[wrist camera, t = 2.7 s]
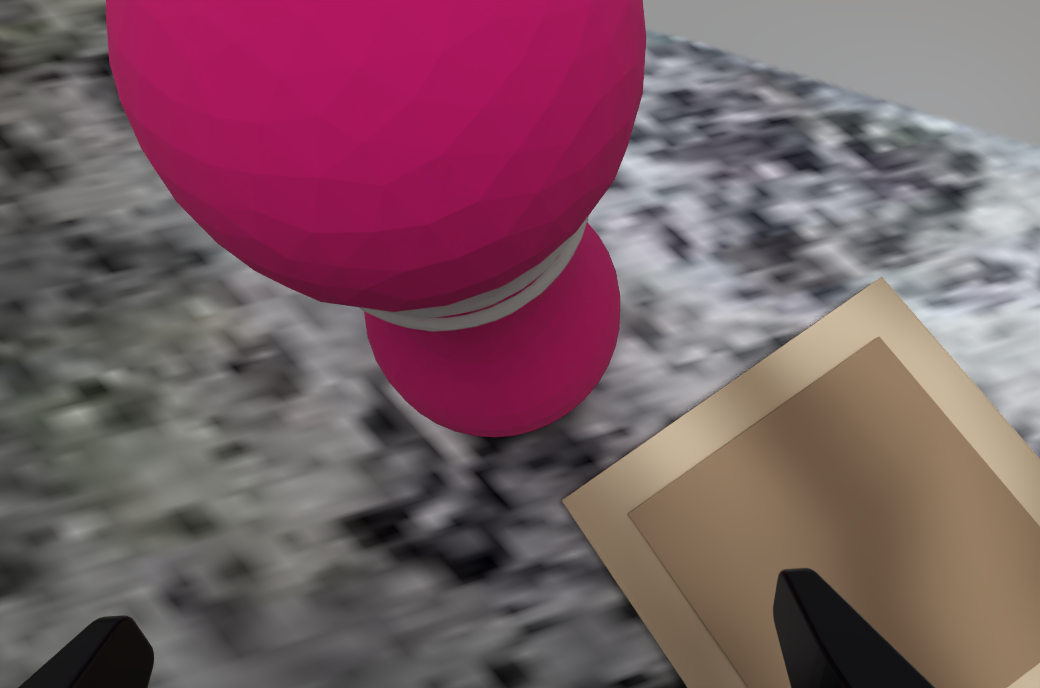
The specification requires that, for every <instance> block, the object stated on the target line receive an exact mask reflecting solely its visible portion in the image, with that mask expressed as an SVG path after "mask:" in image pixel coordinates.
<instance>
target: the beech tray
mask: <svg viewBox="0 0 1040 688" xmlns="http://www.w3.org/2000/svg"><path fill="white" fill-rule="evenodd" d="M562 502H563V503H564V505H565V506H566V508H567V509H568V511H569V512H570V514H571V515H572V517H573V518H574V520H575V521H576V523H577V524H578V526H579V527H580V529H581V530H582V532H583V533H584V534H585V536H586V537H587V539H588V540H589V542H590V543H591V545H592V546H593V548H594V549H595V551H596V552H597V554H598V555H599V557H600V558H601V560H602V561H603V563H604V564H605V566H606V567H607V569H608V570H609V572H610V573H611V575H612V576H613V578H614V579H615V581H616V582H617V584H618V585H619V587H620V588H621V590H622V591H623V592H624V594H625V595H626V597H627V598H628V600H629V601H630V603H631V604H632V606H633V607H634V609H635V610H636V612H637V613H638V615H639V616H640V618H641V619H642V621H643V622H644V624H645V625H646V627H647V628H648V630H649V631H650V633H651V634H652V636H653V637H654V639H655V640H656V642H657V643H658V645H659V646H660V647H661V649H662V650H663V652H664V653H665V655H666V656H667V658H668V659H669V661H670V662H671V664H672V665H673V667H674V668H675V670H676V671H677V673H678V674H679V676H680V677H681V679H682V680H683V682H684V683H685V685H686V686H687V688H791V685H790V681H789V678H788V674H787V670H786V666H785V662H784V658H783V655H782V651H781V647H780V643H779V639H778V635H777V632H776V628H775V624H774V618H773V603H774V597H775V591H776V585H777V579H778V575H779V573H780V571H781V570H783V569H793V568H810V569H812V570H814V571H816V572H817V573H818V574H819V575H820V576H821V577H822V578H823V579H824V580H825V581H826V582H827V583H828V584H829V585H830V586H831V587H832V588H833V589H834V590H835V591H836V592H837V593H838V594H840V595H841V596H842V597H843V598H844V599H845V600H846V601H847V602H848V603H849V604H850V605H851V606H852V607H853V608H854V609H855V610H856V611H857V612H858V613H859V614H860V615H861V616H862V617H863V618H864V619H865V620H866V621H867V622H868V623H869V624H870V625H871V626H872V627H873V628H874V629H876V630H877V631H878V632H879V633H880V634H881V635H882V636H883V637H884V638H885V639H886V640H887V641H888V642H889V643H890V644H891V645H892V646H893V647H894V648H895V649H896V650H897V651H898V652H899V653H900V654H901V655H902V656H903V657H904V658H905V659H906V660H907V661H908V662H909V663H910V664H912V665H913V666H914V667H915V668H916V669H917V670H918V671H919V672H920V673H921V674H922V675H923V676H924V677H925V678H926V679H927V680H928V681H929V682H930V683H931V684H932V685H933V686H934V687H935V688H1040V459H1039V457H1038V456H1037V455H1036V454H1035V453H1034V452H1033V451H1032V449H1031V448H1030V447H1029V446H1028V445H1027V444H1026V442H1025V441H1024V440H1023V439H1022V438H1021V437H1020V436H1019V434H1018V433H1017V432H1016V431H1015V430H1014V429H1013V427H1012V426H1011V425H1010V424H1009V423H1008V422H1007V421H1006V419H1005V418H1004V417H1003V416H1002V415H1001V414H1000V412H999V411H998V410H997V409H996V408H995V407H994V405H993V404H992V403H991V402H990V401H989V400H988V399H987V397H986V396H985V395H984V394H983V393H982V392H981V390H980V389H979V388H978V387H977V386H976V385H975V384H974V382H973V381H972V380H971V379H970V378H969V377H968V375H967V374H966V373H965V372H964V371H963V370H962V369H961V367H960V366H959V365H958V364H957V363H956V362H955V360H954V359H953V358H952V357H951V356H950V355H949V354H948V352H947V351H946V350H945V349H944V348H943V347H942V345H941V344H940V343H939V342H938V341H937V340H936V339H935V337H934V336H933V335H932V334H931V333H930V332H929V330H928V329H927V328H926V327H925V326H924V325H923V324H922V322H921V321H920V320H919V319H918V318H917V317H916V315H915V314H914V313H913V312H912V311H911V310H910V309H909V307H908V306H907V305H906V304H905V303H904V302H903V300H902V299H901V298H900V297H899V296H898V295H897V294H896V292H895V291H894V290H893V289H892V288H891V287H890V285H889V284H888V283H887V282H886V281H885V280H884V279H883V277H881V278H879V279H878V280H876V281H875V282H873V283H872V284H870V285H869V286H868V287H866V288H865V289H863V290H862V291H860V292H859V293H858V294H856V295H855V296H853V297H852V298H850V299H849V300H848V301H846V302H845V303H843V304H842V305H840V306H839V307H838V308H836V309H835V310H833V311H832V312H830V313H829V314H828V315H826V316H825V317H823V318H822V319H820V320H819V321H818V322H816V323H815V324H813V325H812V326H810V327H809V328H808V329H806V330H805V331H803V332H802V333H800V334H799V335H798V336H796V337H795V338H793V339H792V340H790V341H789V342H787V343H786V344H785V345H783V346H782V347H780V348H779V349H777V350H776V351H775V352H773V353H772V354H770V355H769V356H767V357H766V358H765V359H763V360H762V361H760V362H759V363H757V364H756V365H755V366H753V367H752V368H750V369H749V370H747V371H746V372H745V373H743V374H742V375H740V376H739V377H737V378H736V379H735V380H733V381H732V382H730V383H729V384H727V385H726V386H725V387H723V388H722V389H720V390H719V391H717V392H716V393H715V394H713V395H712V396H710V397H709V398H707V399H706V400H705V401H703V402H702V403H700V404H699V405H697V406H696V407H694V408H693V409H692V410H690V411H689V412H687V413H686V414H684V415H683V416H682V417H680V418H679V419H677V420H676V421H674V422H673V423H672V424H670V425H669V426H667V427H666V428H664V429H663V430H662V431H660V432H659V433H657V434H656V435H654V436H653V437H652V438H650V439H649V440H647V441H646V442H644V443H643V444H642V445H640V446H639V447H637V448H636V449H634V450H633V451H632V452H630V453H629V454H627V455H626V456H624V457H623V458H622V459H620V460H619V461H617V462H616V463H614V464H613V465H612V466H610V467H609V468H607V469H606V470H604V471H603V472H602V473H600V474H599V475H597V476H596V477H594V478H593V479H591V480H590V481H589V482H587V483H586V484H584V485H583V486H581V487H580V488H579V489H577V490H576V491H574V492H573V493H571V494H570V495H569V496H567V497H566V498H564V499H563V500H562Z"/></svg>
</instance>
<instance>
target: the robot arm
mask: <svg viewBox="0 0 1040 688" xmlns="http://www.w3.org/2000/svg"><path fill="white" fill-rule="evenodd" d="M773 618H774V624H775V628H776V632H777V635H778V639H779V643H780V647H781V651H782V655H783V658H784V662H785V666H786V670H787V674H788V678H789V681H790V685H791V688H935V687H934V686H933V685H932V684H931V683H930V682H929V681H928V680H927V679H926V678H925V677H924V676H923V675H922V674H921V673H920V672H919V671H918V670H917V669H916V668H915V667H914V666H913V665H912V664H910V663H909V662H908V661H907V660H906V659H905V658H904V657H903V656H902V655H901V654H900V653H899V652H898V651H897V650H896V649H895V648H894V647H893V646H892V645H891V644H890V643H889V642H888V641H887V640H886V639H885V638H884V637H883V636H882V635H881V634H880V633H879V632H878V631H877V630H876V629H874V628H873V627H872V626H871V625H870V624H869V623H868V622H867V621H866V620H865V619H864V618H863V617H862V616H861V615H860V614H859V613H858V612H857V611H856V610H855V609H854V608H853V607H852V606H851V605H850V604H849V603H848V602H847V601H846V600H845V599H844V598H843V597H842V596H841V595H840V594H838V593H837V592H836V591H835V590H834V589H833V588H832V587H831V586H830V585H829V584H828V583H827V582H826V581H825V580H824V579H823V578H822V577H821V576H820V575H819V574H818V573H817V572H816V571H814V570H812V569H810V568H793V569H783V570H781V571H780V573H779V575H778V579H777V585H776V591H775V597H774V603H773ZM153 664H154V652H153V648H152V646H151V645H150V643H149V642H148V640H147V639H146V637H145V636H144V634H143V633H142V631H141V630H140V629H139V627H138V626H137V624H136V623H135V621H134V620H133V619H132V618H131V617H129V616H109V617H102V618H99V619H97V620H95V621H93V622H92V623H91V624H90V625H88V626H87V627H86V628H85V629H84V630H83V631H82V632H81V633H79V634H78V635H77V636H76V637H75V638H74V639H73V640H71V641H70V642H69V643H68V644H67V645H66V646H65V647H64V648H62V649H61V650H60V651H59V652H58V653H57V654H56V655H55V656H53V657H52V658H51V659H50V660H49V661H48V662H47V663H46V664H44V665H43V666H42V667H41V668H40V669H39V670H38V671H37V672H35V673H34V674H33V675H32V676H31V677H30V678H29V679H28V680H26V681H25V682H24V683H23V684H22V685H21V686H20V687H18V688H148V684H149V680H150V677H151V673H152V669H153Z"/></svg>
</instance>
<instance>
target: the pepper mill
mask: <svg viewBox="0 0 1040 688" xmlns="http://www.w3.org/2000/svg"><path fill="white" fill-rule="evenodd" d="M106 22H107V35H108V49H109V62H110V66H111V69H112V73H113V76H114V80H115V83H116V87H117V90H118V94H119V97H120V101H121V103H122V106H123V108H124V110H125V113H126V115H127V117H128V119H129V122H130V124H131V126H132V128H133V131H134V133H135V135H136V137H137V140H138V142H139V144H140V147H141V149H142V150H143V152H144V153H145V155H146V156H147V158H148V159H149V161H150V163H151V164H152V166H153V167H154V169H155V170H156V172H157V173H158V175H159V176H160V178H161V179H162V181H163V182H164V184H165V185H166V187H167V188H168V190H169V191H170V193H171V194H172V196H173V197H174V199H175V200H176V202H177V203H178V204H179V205H180V206H181V207H182V208H183V209H184V210H185V211H186V212H187V213H188V214H189V215H190V216H191V217H192V218H193V219H194V220H195V221H196V222H197V223H198V224H199V225H200V226H201V227H202V228H203V229H204V230H205V231H206V232H207V233H208V234H209V235H210V236H211V237H212V238H213V239H214V240H215V241H216V242H217V243H218V244H219V245H220V246H222V247H223V248H225V249H226V250H227V251H229V252H230V253H231V254H233V255H234V256H235V257H237V258H238V259H239V260H241V261H242V262H244V263H245V264H246V265H248V266H249V267H250V268H252V269H253V270H254V271H256V272H258V273H260V274H262V275H264V276H266V277H268V278H270V279H272V280H274V281H276V282H278V283H280V284H282V285H284V286H286V287H288V288H290V289H293V290H295V291H297V292H300V293H302V294H304V295H306V296H309V297H311V298H313V299H316V300H318V301H320V302H326V303H333V304H340V305H347V306H354V307H359V308H360V309H362V310H363V311H364V314H365V321H366V328H367V335H368V339H369V342H370V345H371V348H372V350H373V353H374V356H375V359H376V361H377V363H378V364H379V366H380V368H381V369H382V371H383V373H384V374H385V376H386V378H387V379H388V381H389V382H390V384H391V385H392V386H393V387H394V388H395V389H396V390H397V392H398V393H399V394H400V395H401V396H402V397H403V398H404V399H405V401H407V402H408V403H409V404H410V405H411V406H412V407H413V408H415V409H416V410H417V411H418V412H419V413H420V414H422V415H424V416H425V417H427V418H428V419H430V420H432V421H433V422H435V423H436V424H439V425H441V426H444V427H446V428H448V429H451V430H453V431H456V432H460V433H465V434H469V435H473V436H485V437H503V436H514V435H518V434H522V433H526V432H530V431H534V430H537V429H539V428H541V427H544V426H546V425H548V424H551V423H553V422H555V421H556V420H558V419H559V418H561V417H563V416H564V415H566V414H568V413H569V412H570V411H571V410H573V409H574V408H575V407H576V406H577V405H578V404H580V403H581V402H582V401H583V400H584V399H585V398H586V397H587V396H588V395H589V393H590V392H591V391H592V390H593V389H594V387H595V386H596V385H597V384H598V382H599V381H600V379H601V377H602V376H603V374H604V372H605V370H606V369H607V367H608V365H609V363H610V360H611V357H612V355H613V352H614V350H615V347H616V342H617V337H618V332H619V324H620V292H619V286H618V281H617V275H616V271H615V268H614V265H613V263H612V260H611V257H610V255H609V252H608V251H607V249H606V247H605V246H604V244H603V242H602V241H601V239H600V237H599V236H598V235H597V233H596V232H595V231H594V230H593V228H592V227H591V226H590V225H589V224H588V223H587V221H588V216H589V214H590V213H591V211H592V210H593V209H594V207H595V206H596V205H597V203H598V202H599V200H600V199H601V198H602V196H603V195H604V194H605V192H606V191H607V190H608V188H609V187H610V185H611V184H612V183H613V181H614V180H615V177H616V175H617V172H618V169H619V167H620V164H621V162H622V159H623V157H624V154H625V152H626V149H627V147H628V143H629V140H630V136H631V133H632V129H633V126H634V122H635V118H636V115H637V111H638V108H639V104H640V101H641V97H642V94H643V80H644V65H645V49H646V30H645V20H644V10H643V0H106Z"/></svg>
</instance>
